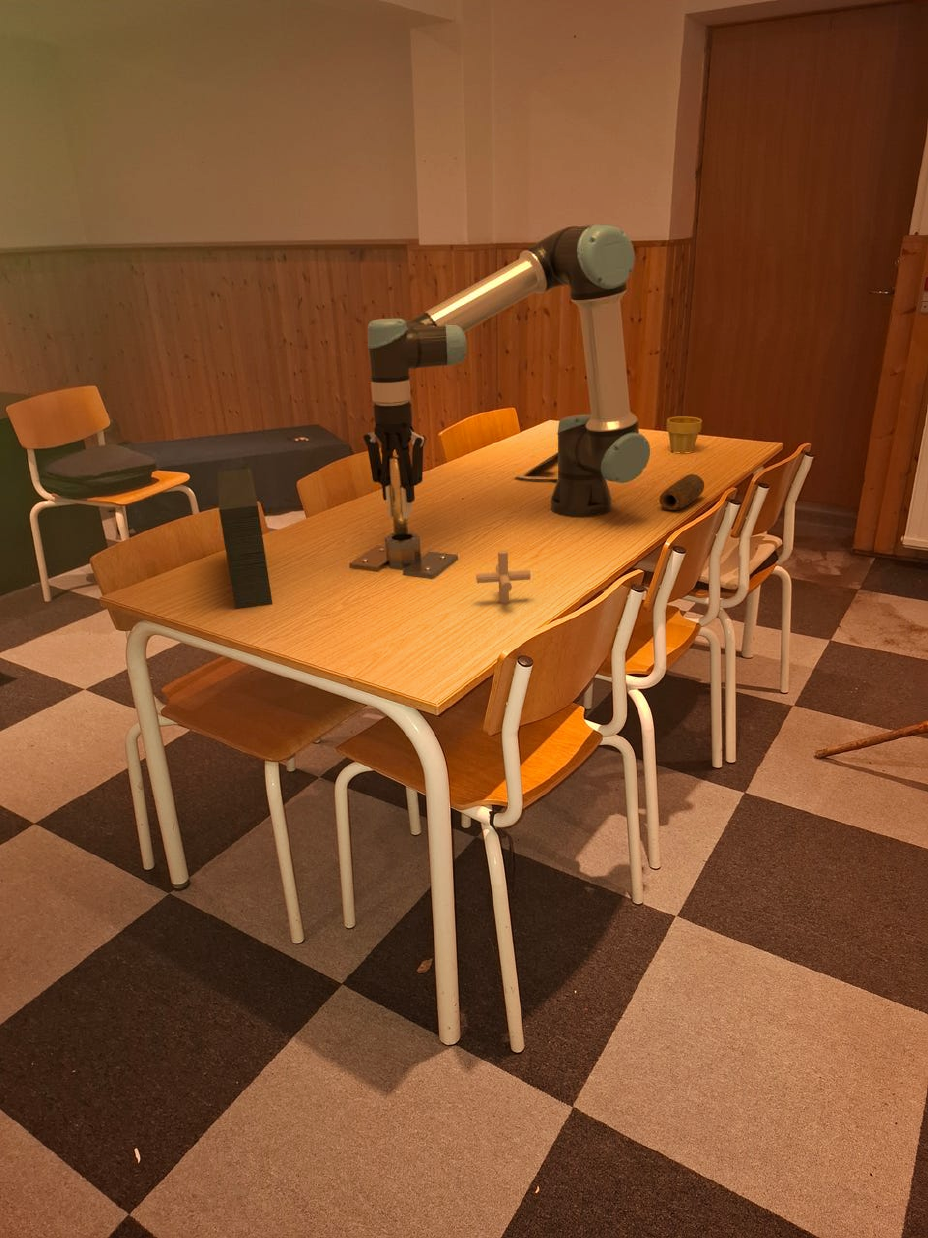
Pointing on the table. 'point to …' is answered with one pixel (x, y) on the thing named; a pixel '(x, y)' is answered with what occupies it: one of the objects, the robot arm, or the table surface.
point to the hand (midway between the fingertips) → (400, 515)
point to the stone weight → (682, 492)
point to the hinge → (404, 557)
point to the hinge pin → (397, 495)
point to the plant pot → (683, 432)
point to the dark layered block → (243, 539)
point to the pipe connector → (503, 576)
